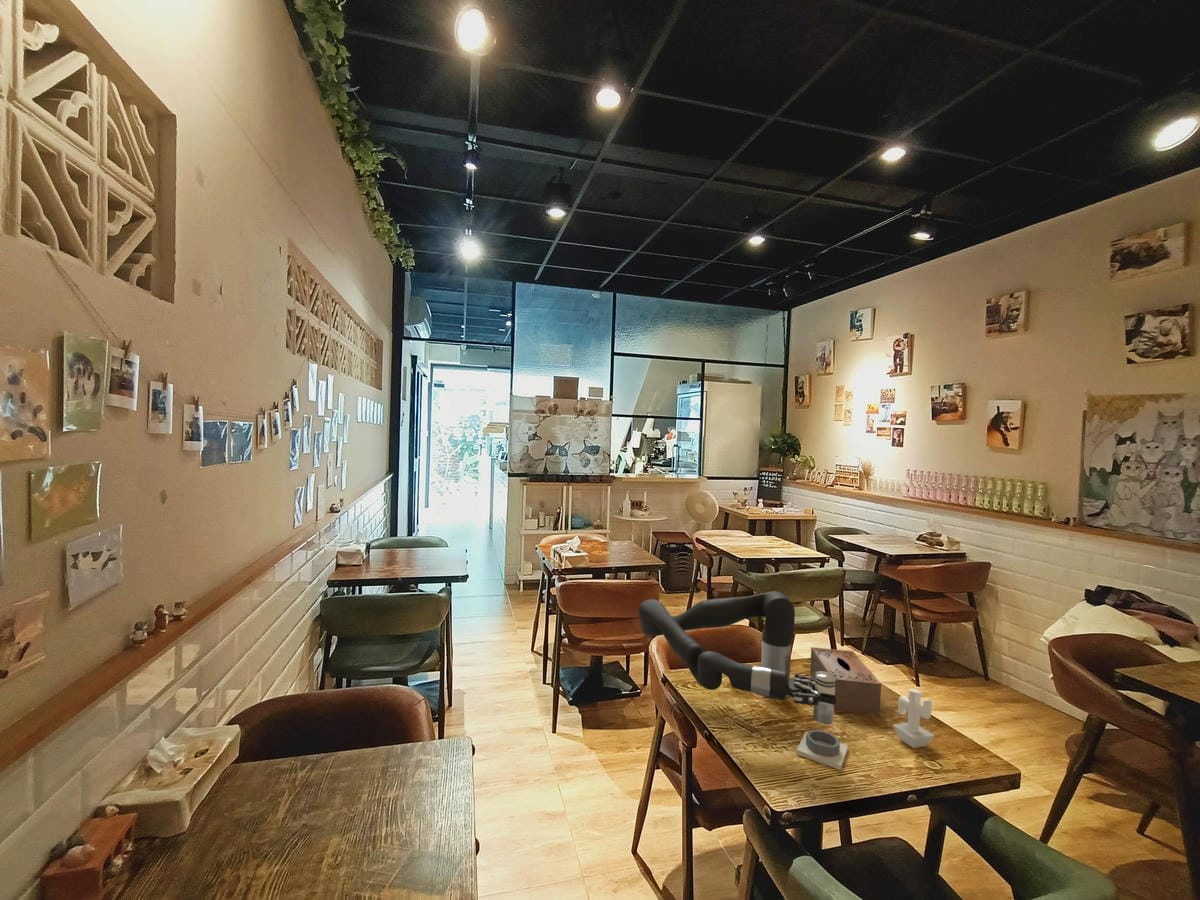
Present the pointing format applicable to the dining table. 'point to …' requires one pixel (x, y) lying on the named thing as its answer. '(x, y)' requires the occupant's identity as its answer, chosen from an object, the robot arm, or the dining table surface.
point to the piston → (825, 685)
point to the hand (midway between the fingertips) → (834, 695)
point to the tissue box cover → (848, 680)
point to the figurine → (914, 719)
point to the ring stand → (823, 748)
